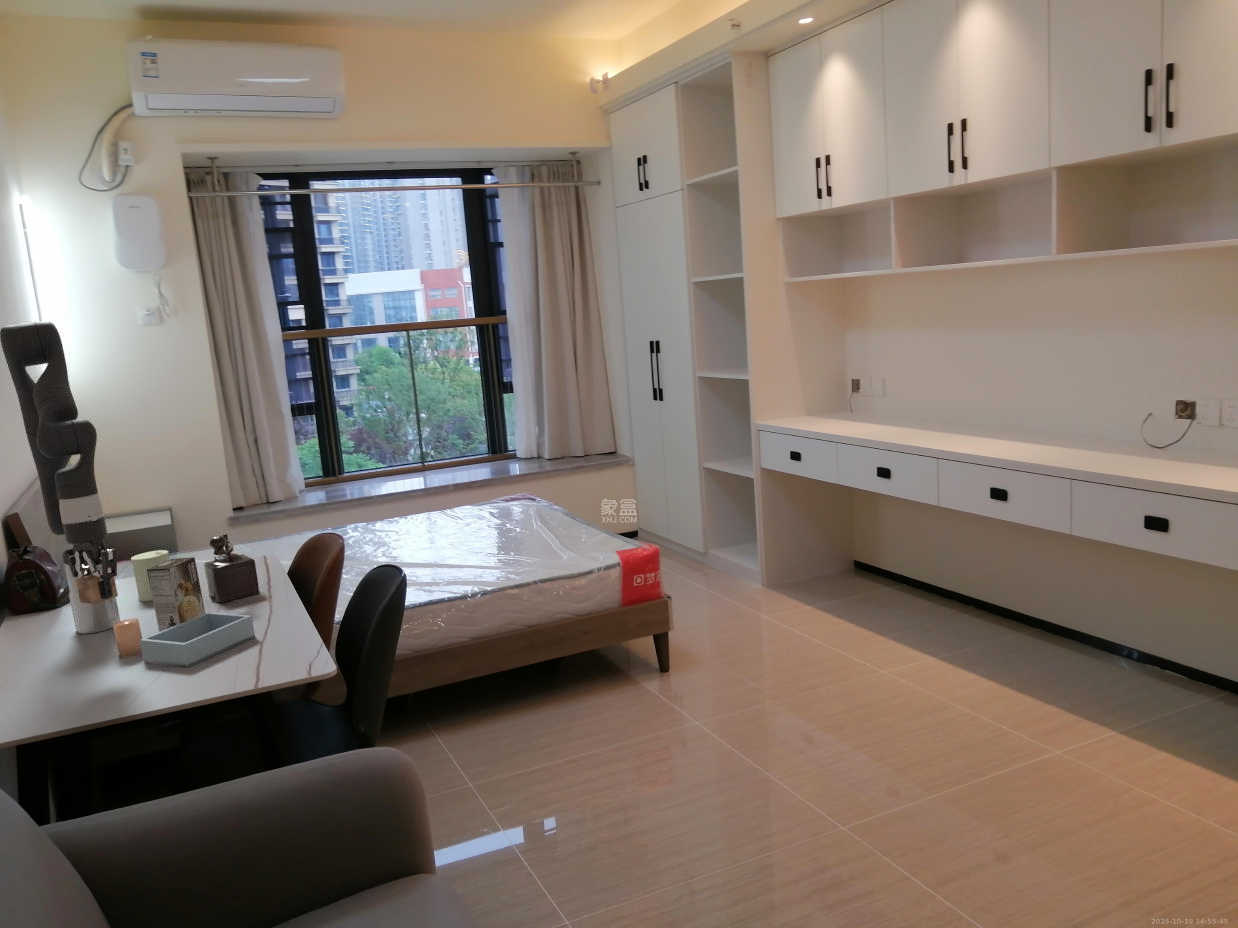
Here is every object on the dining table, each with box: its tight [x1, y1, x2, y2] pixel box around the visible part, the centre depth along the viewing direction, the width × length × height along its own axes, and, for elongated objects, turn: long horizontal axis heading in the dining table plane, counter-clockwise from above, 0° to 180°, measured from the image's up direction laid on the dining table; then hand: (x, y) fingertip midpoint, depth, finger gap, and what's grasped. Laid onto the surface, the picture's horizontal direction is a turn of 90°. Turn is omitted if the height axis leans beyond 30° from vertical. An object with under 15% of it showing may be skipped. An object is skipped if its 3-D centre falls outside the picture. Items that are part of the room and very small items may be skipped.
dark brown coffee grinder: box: [203, 533, 260, 604], centre depth 239 cm, size 16×11×18 cm
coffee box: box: [147, 556, 207, 633], centre depth 217 cm, size 9×6×16 cm
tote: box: [140, 611, 256, 668], centre depth 201 cm, size 14×18×5 cm
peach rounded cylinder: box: [113, 618, 143, 658], centre depth 204 cm, size 5×5×7 cm
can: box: [130, 549, 170, 602], centre depth 250 cm, size 9×9×12 cm
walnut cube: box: [76, 572, 119, 604], centre depth 193 cm, size 5×5×5 cm
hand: (99, 596), depth 193 cm, fingers closed on walnut cube, 5 cm apart
